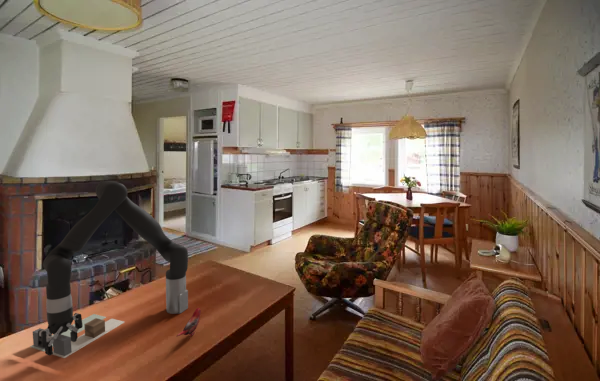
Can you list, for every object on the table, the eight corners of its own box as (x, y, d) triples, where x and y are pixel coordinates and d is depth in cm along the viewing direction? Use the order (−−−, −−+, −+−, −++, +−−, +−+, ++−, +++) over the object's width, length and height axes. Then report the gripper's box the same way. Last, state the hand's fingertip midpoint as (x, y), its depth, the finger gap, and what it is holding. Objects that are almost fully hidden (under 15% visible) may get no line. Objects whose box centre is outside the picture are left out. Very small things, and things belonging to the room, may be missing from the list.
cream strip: (125, 323, 135) (124, 309, 134) (64, 360, 111) (63, 342, 110) (111, 320, 138) (111, 306, 137) (49, 355, 113) (48, 338, 112)
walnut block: (105, 331, 127) (104, 320, 127) (93, 338, 123) (93, 326, 122) (96, 329, 129) (95, 318, 128) (85, 335, 124) (84, 324, 124)
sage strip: (106, 319, 138) (106, 304, 138) (44, 353, 114) (42, 336, 113) (93, 315, 141) (93, 301, 140) (29, 349, 116) (28, 332, 115)
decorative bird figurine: (203, 327, 135) (203, 306, 134) (179, 351, 118) (179, 327, 117) (198, 326, 136) (197, 305, 135) (173, 350, 119) (172, 326, 117)
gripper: (45, 318, 104) (48, 362, 105) (85, 300, 117) (87, 339, 119) (30, 314, 106) (33, 357, 108) (72, 297, 119) (74, 335, 121)
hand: (62, 347), depth 113 cm, fingers open, 8 cm apart
